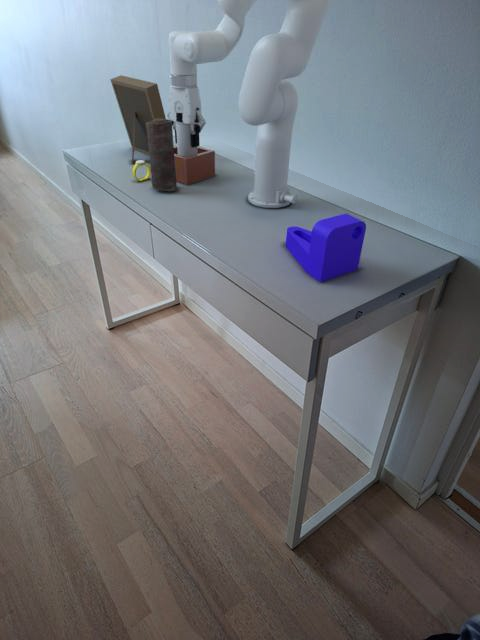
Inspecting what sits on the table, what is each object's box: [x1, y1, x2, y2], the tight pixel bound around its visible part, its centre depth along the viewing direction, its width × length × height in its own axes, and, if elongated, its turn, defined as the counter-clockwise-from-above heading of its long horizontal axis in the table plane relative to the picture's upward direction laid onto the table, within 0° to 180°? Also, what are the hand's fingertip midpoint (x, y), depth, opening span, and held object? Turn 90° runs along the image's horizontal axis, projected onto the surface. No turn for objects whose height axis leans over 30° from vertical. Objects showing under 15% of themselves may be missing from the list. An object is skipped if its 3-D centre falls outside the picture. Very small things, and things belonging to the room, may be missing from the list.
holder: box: [174, 145, 216, 186], centre depth 147 cm, size 13×13×8 cm
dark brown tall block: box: [146, 118, 178, 192], centre depth 132 cm, size 8×7×20 cm
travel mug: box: [176, 113, 197, 157], centre depth 143 cm, size 6×7×20 cm
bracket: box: [285, 213, 367, 283], centre depth 101 cm, size 18×11×12 cm, turn 33°
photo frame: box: [110, 74, 167, 164], centre depth 158 cm, size 15×22×25 cm
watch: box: [131, 159, 151, 182], centre depth 143 cm, size 6×3×6 cm, turn 135°
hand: (187, 144), depth 143 cm, fingers closed on travel mug, 6 cm apart
